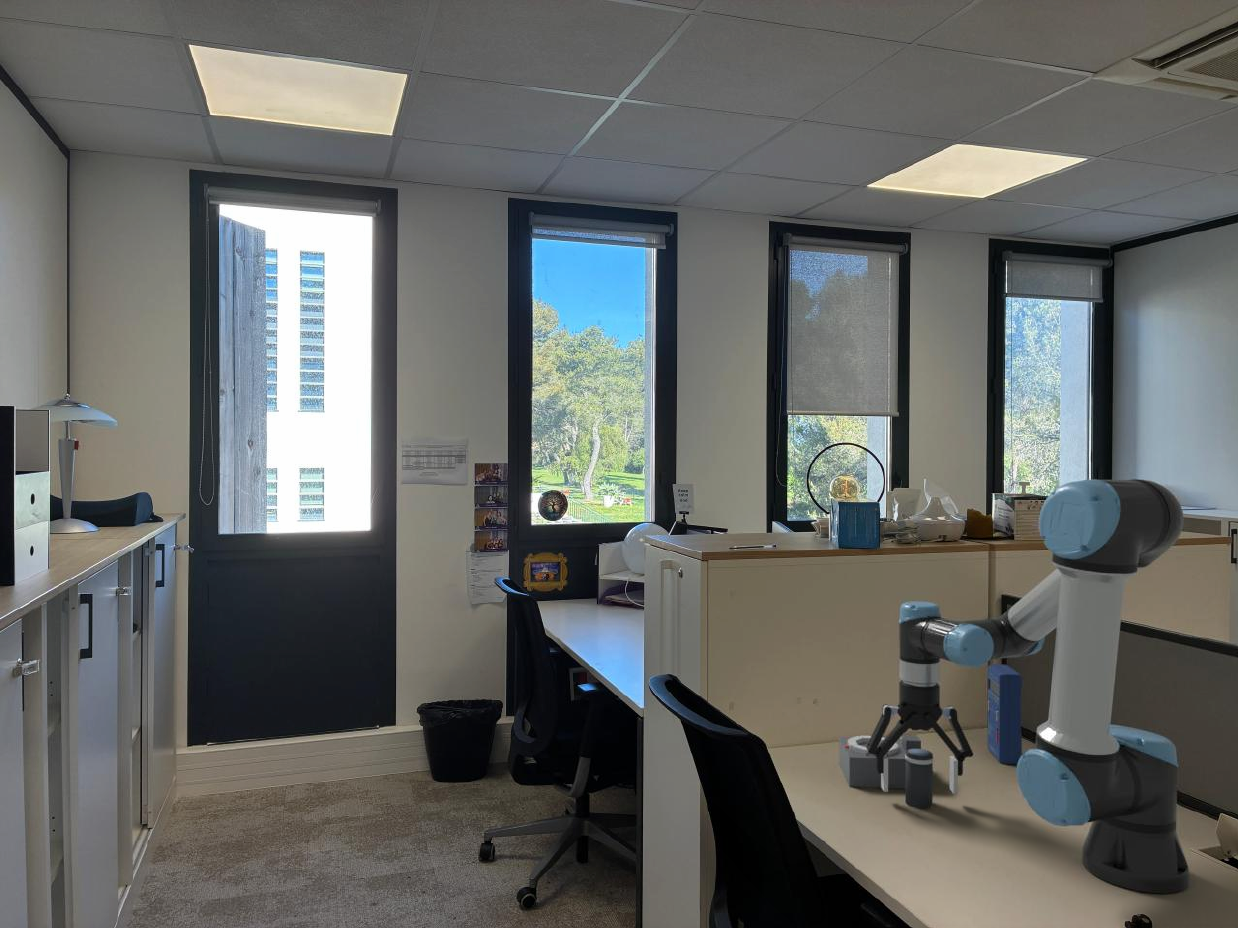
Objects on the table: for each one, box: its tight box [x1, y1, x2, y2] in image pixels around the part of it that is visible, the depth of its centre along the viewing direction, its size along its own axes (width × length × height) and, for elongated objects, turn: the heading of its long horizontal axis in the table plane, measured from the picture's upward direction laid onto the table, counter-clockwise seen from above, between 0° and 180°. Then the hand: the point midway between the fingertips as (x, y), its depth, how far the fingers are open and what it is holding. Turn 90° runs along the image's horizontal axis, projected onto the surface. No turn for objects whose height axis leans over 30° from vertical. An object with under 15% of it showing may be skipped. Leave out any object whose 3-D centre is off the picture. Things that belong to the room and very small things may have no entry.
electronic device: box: [987, 664, 1023, 765], centre depth 199 cm, size 10×5×20 cm, turn 173°
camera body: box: [838, 734, 922, 789], centre depth 187 cm, size 13×16×8 cm
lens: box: [905, 748, 934, 810], centre depth 173 cm, size 5×5×10 cm
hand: (918, 790), depth 173 cm, fingers open, 12 cm apart
